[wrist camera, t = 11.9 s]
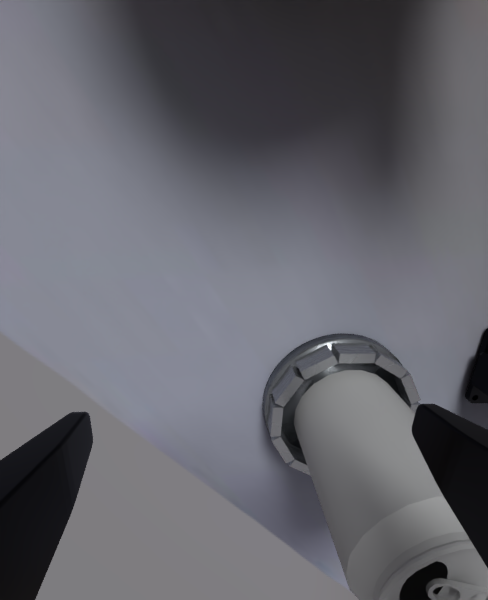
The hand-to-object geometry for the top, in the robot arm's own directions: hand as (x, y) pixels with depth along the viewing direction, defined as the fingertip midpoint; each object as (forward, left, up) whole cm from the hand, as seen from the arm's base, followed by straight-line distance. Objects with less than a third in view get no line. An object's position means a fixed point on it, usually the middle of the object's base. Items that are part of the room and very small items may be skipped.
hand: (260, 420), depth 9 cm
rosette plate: (-8, +9, -13) cm, 18 cm away
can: (-8, +9, -12) cm, 17 cm away
